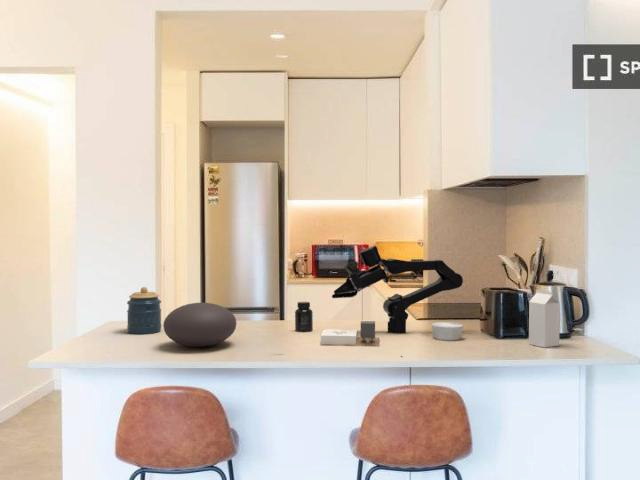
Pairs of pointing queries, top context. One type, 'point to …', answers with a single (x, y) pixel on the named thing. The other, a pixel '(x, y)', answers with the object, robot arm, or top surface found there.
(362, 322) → the charcoal cube
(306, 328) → the supplement bottle
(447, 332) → the ramekin
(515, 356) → the top surface
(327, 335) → the socket
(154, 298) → the canister
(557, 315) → the milk carton
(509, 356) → the top surface
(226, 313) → the smooth stone
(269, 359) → the top surface
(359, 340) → the walnut board
